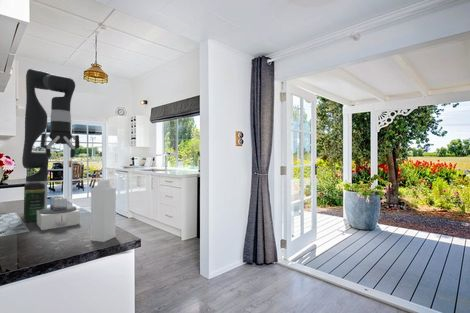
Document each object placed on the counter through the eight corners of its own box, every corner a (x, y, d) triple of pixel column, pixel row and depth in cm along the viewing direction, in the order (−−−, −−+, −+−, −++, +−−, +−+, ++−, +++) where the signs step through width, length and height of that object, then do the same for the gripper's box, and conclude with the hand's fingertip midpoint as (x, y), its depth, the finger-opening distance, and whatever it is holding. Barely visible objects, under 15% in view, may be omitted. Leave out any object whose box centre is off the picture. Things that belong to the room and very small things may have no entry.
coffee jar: (45, 221, 122) (45, 181, 122) (23, 223, 117) (24, 182, 117) (44, 217, 130) (44, 180, 130) (23, 219, 125) (24, 181, 125)
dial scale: (36, 223, 118) (36, 208, 118) (72, 218, 128) (72, 204, 128) (41, 230, 107) (42, 213, 107) (80, 224, 117) (80, 209, 117)
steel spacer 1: (49, 207, 120) (49, 196, 120) (62, 206, 124) (62, 195, 124) (51, 209, 117) (51, 198, 117) (64, 207, 120) (64, 196, 120)
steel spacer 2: (52, 210, 115) (52, 198, 115) (65, 208, 119) (65, 197, 119) (54, 211, 112) (54, 200, 112) (68, 210, 115) (68, 198, 115)
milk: (90, 240, 95) (90, 180, 95) (102, 235, 101) (102, 179, 101) (104, 242, 94) (104, 181, 94) (115, 237, 100) (115, 179, 100)
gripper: (77, 123, 123) (76, 157, 123) (39, 120, 113) (39, 157, 113) (81, 122, 118) (80, 157, 118) (42, 118, 108) (42, 157, 108)
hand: (60, 157), depth 115 cm, fingers open, 8 cm apart
